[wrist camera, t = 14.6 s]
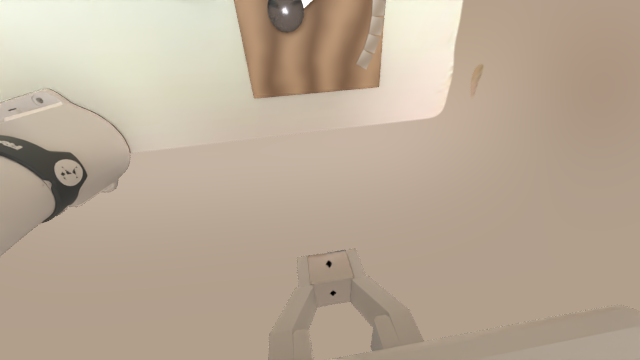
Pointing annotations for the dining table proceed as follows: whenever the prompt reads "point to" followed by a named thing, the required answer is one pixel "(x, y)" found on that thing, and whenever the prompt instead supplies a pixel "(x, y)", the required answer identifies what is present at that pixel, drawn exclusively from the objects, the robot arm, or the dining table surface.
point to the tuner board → (313, 47)
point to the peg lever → (286, 13)
